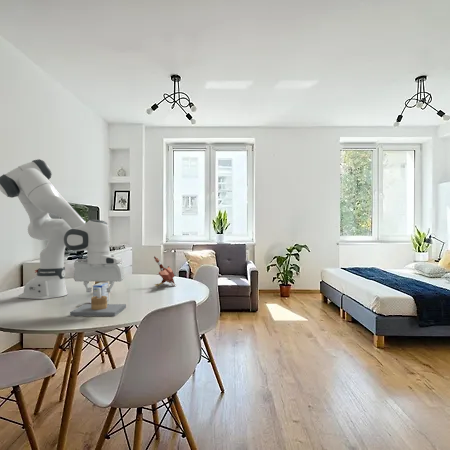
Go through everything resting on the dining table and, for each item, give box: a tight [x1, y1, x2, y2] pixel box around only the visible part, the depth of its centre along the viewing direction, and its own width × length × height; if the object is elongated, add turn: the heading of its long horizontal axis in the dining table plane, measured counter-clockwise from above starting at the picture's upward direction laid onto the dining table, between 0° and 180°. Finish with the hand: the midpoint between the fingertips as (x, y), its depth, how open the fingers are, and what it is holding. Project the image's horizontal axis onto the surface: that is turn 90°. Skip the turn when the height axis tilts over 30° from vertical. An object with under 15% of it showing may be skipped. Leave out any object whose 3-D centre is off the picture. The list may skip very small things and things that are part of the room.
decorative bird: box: [153, 255, 176, 287], centre depth 208 cm, size 28×18×15 cm, turn 178°
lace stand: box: [69, 288, 127, 317], centre depth 150 cm, size 18×14×10 cm
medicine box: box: [92, 282, 109, 302], centre depth 167 cm, size 8×4×9 cm, turn 178°
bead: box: [90, 296, 108, 310], centre depth 150 cm, size 6×6×4 cm
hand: (99, 292), depth 150 cm, fingers open, 7 cm apart
